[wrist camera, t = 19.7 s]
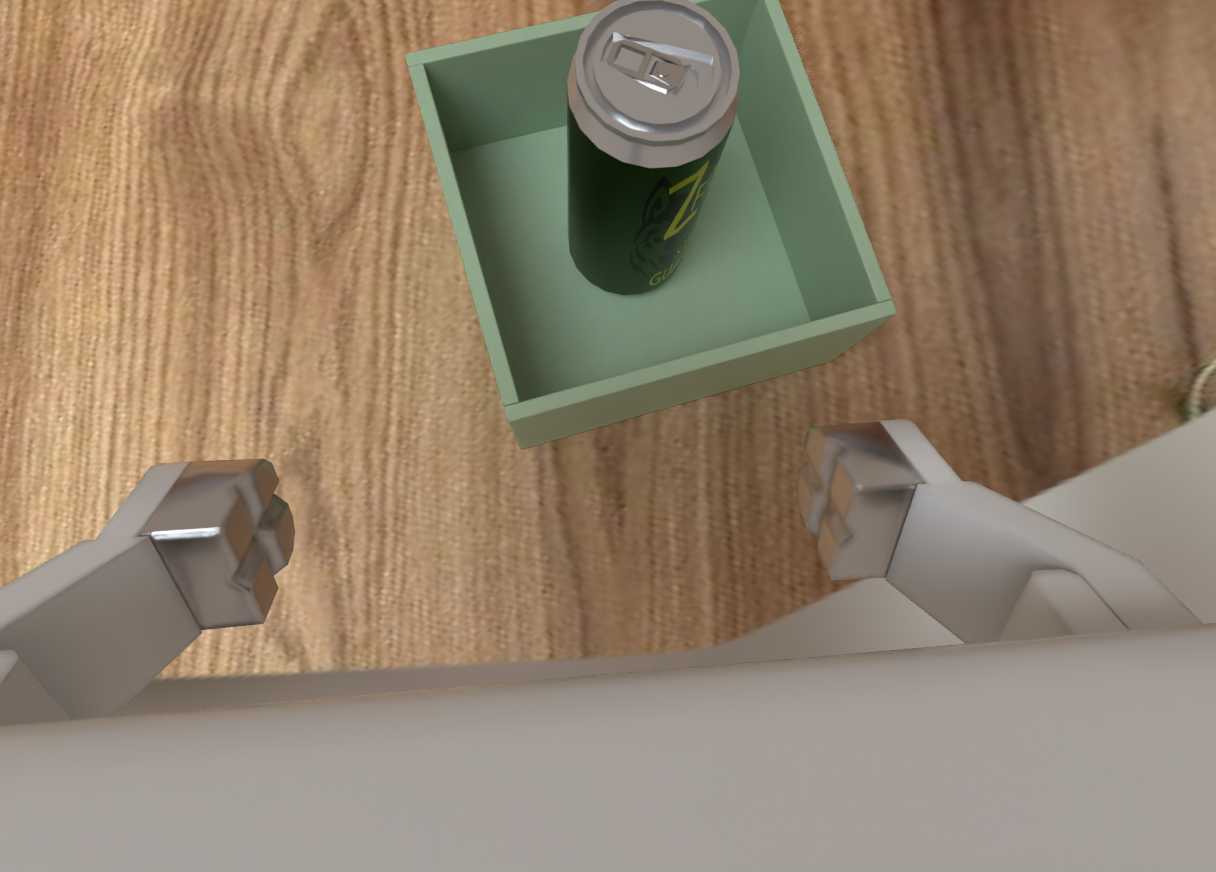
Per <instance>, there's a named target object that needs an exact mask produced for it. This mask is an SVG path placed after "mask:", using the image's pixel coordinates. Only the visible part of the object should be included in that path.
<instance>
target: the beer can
mask: <svg viewBox="0 0 1216 872" xmlns="http://www.w3.org/2000/svg"><path fill="white" fill-rule="evenodd" d="M739 76H740V69H739V63H738V56H737V50H736V48H735V46H734V44H733V42H732V40H731V38H730V36H729V34H728V33H727V31H726V29H725V28H724V27H723V26H722V25H721V24H720V23H719V22H718V21H717V20H716V19H715V18H714V17H713V16H712V15H711V14H710V13H709V12H708V11H707V10H705V9H703V8H701V7H699V6H698V5H696V4H694V3H692V2H690V1H688V0H618V1H616V2H613V3H611V4H610V5H609V6H607V7H606V8H605V9H603V10H602V11H601V12H599V13H598V14H596V15H595V16H594V17H593V18H592V20H591V21H590V23H589V24H588V25H587V27H586V28H585V30H584V31H583V33H582V34H581V36H580V39H579V43H578V47H577V51H576V54H575V55H574V57H573V59H572V63H571V67H570V71H569V75H568V79H567V167H568V241H569V251H570V254H571V257H572V259H573V261H574V263H575V265H576V268H577V269H578V270H579V271H580V272H581V273H582V275H583V276H584V277H585V278H586V279H587V280H588V281H589V282H590V283H592V284H594V285H596V286H597V287H599V288H601V289H602V290H604V291H607V292H611V293H616V294H620V295H633V294H643V293H645V292H648V291H650V290H653V289H655V288H658V287H659V286H660V285H662V284H663V283H664V282H665V281H666V280H668V279H669V278H670V277H671V276H672V275H673V273H674V272H675V270H676V268H677V267H678V265H679V263H680V262H681V260H682V257H683V254H684V252H685V249H686V246H687V244H688V241H689V239H690V236H691V233H692V231H693V228H694V225H695V223H696V220H697V218H698V215H699V212H700V210H701V207H702V204H703V202H704V199H705V196H706V194H707V191H708V189H709V186H710V183H711V181H712V178H713V175H714V173H715V170H716V168H717V165H718V162H719V160H720V157H721V154H722V152H723V149H724V147H725V144H726V141H727V139H728V136H729V133H730V131H731V128H732V126H733V123H734V120H735V115H736V110H737V106H738V101H739V91H738V81H739Z"/></svg>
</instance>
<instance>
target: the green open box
mask: <svg viewBox="0 0 1216 872" xmlns="http://www.w3.org/2000/svg"><path fill="white" fill-rule="evenodd" d="M688 1H690V2H692V3H694V4H696V5H698V6H699V7H701V8H703V9H705V10H707V11H708V12H709V13H710V14H711V15H712V16H713V17H714V18H715V19H716V20H717V21H718V22H719V23H720V24H721V25H722V26H723V27H724V28H725V29H726V31H727V33H728V34H729V36H730V38H731V40H732V42H733V44H734V46H735V48H736V50H737V56H738V63H739V69H740V76H739V81H738V91H739V101H738V106H737V110H736V115H735V120H734V123H733V126H732V128H731V131H730V133H729V136H728V139H727V141H726V144H725V147H724V149H723V152H722V154H721V157H720V160H719V162H718V165H717V168H716V170H715V173H714V175H713V178H712V181H711V183H710V186H709V189H708V191H707V194H706V196H705V199H704V202H703V204H702V207H701V210H700V212H699V215H698V218H697V220H696V223H695V225H694V228H693V231H692V233H691V236H690V239H689V241H688V244H687V246H686V249H685V252H684V254H683V257H682V260H681V262H680V263H679V265H678V267H677V268H676V270H675V272H674V273H673V275H672V276H671V277H670V278H669V279H668V280H666V281H665V282H664V283H663V284H662V285H660V286H659V287H658V288H655V289H653V290H650V291H648V292H645V293H643V294H633V295H620V294H616V293H611V292H607V291H604V290H602V289H601V288H599V287H597V286H596V285H594V284H592V283H590V282H589V281H588V280H587V279H586V278H585V277H584V276H583V275H582V273H581V272H580V271H579V270H578V269H577V268H576V265H575V263H574V261H573V259H572V257H571V254H570V251H569V241H568V167H567V79H568V75H569V71H570V67H571V63H572V59H573V57H574V55H575V54H576V51H577V47H578V43H579V39H580V36H581V34H582V33H583V31H584V30H585V28H586V27H587V25H588V24H589V23H590V21H591V20H592V18H593V17H594V16H595V15H596V14H598V13H599V12H601V11H597V12H593V13H588V14H584V15H579V16H575V17H570V18H566V19H561V20H556V21H552V22H547V23H543V24H538V25H534V26H529V27H525V28H520V29H515V30H511V31H506V32H502V33H497V34H493V35H488V36H484V37H479V38H474V39H470V40H465V41H461V42H456V43H452V44H447V45H443V46H438V47H433V48H429V49H424V50H420V51H415V52H411V53H406V54H405V57H406V61H407V64H408V67H409V71H410V75H411V79H412V82H413V86H414V89H415V93H416V96H417V100H418V104H419V107H420V111H421V114H422V118H423V121H424V125H425V129H426V132H427V136H428V139H429V143H430V146H431V150H432V154H433V157H434V161H435V164H436V168H437V171H438V175H439V179H440V182H441V186H442V189H443V193H444V196H445V200H446V204H447V207H448V211H449V214H450V218H451V221H452V225H453V229H454V232H455V236H456V239H457V243H458V246H459V250H460V254H461V257H462V261H463V264H464V268H465V271H466V275H467V279H468V282H469V286H470V289H471V293H472V296H473V300H474V304H475V307H476V311H477V314H478V318H479V322H480V325H481V329H482V332H483V336H484V339H485V343H486V347H487V350H488V354H489V357H490V361H491V364H492V368H493V372H494V375H495V379H496V382H497V386H498V389H499V393H500V397H501V400H502V404H503V406H504V411H505V414H506V418H507V421H508V423H509V425H510V427H511V429H512V431H513V434H514V436H515V438H516V440H517V442H518V444H519V446H520V448H521V449H525V448H528V447H532V446H535V445H539V444H542V443H546V442H549V441H553V440H556V439H560V438H563V437H567V436H570V435H574V434H578V433H581V432H585V431H588V430H592V429H595V428H599V427H602V426H606V425H609V424H613V423H616V422H620V421H623V420H627V419H630V418H634V417H637V416H641V415H644V414H648V413H651V412H655V411H658V410H662V409H666V408H669V407H673V406H676V405H680V404H683V403H687V402H690V401H694V400H697V399H701V398H704V397H708V396H711V395H715V394H718V393H722V392H725V391H729V390H732V389H736V388H739V387H743V386H746V385H750V384H754V383H757V382H761V381H764V380H768V379H771V378H775V377H778V376H782V375H785V374H789V373H792V372H796V371H799V370H803V369H806V368H810V367H813V366H817V365H820V364H824V363H827V362H831V361H832V360H834V359H835V358H836V357H838V356H839V355H840V354H842V353H843V352H845V351H846V350H847V349H849V348H850V347H851V346H853V345H854V344H855V343H857V342H858V341H860V340H861V339H862V338H864V337H865V336H866V335H868V334H869V333H871V332H872V331H873V330H875V329H876V328H877V327H879V326H880V325H882V324H883V323H884V322H886V321H887V320H888V319H890V318H891V317H892V316H894V315H895V314H896V313H897V311H896V308H895V306H894V303H893V301H892V300H890V299H891V295H890V292H889V290H888V287H887V285H886V282H885V279H884V277H883V274H882V271H881V269H880V266H879V263H878V261H877V258H876V256H875V253H874V250H873V248H872V245H871V242H870V240H869V237H868V234H867V232H866V229H865V227H864V224H863V221H862V219H861V216H860V213H859V211H858V208H857V205H856V203H855V200H854V198H853V195H852V192H851V190H850V187H849V184H848V182H847V179H846V176H845V174H844V171H843V169H842V166H841V163H840V161H839V158H838V155H837V153H836V150H835V147H834V145H833V142H832V140H831V137H830V134H829V132H828V129H827V126H826V124H825V121H824V118H823V116H822V113H821V111H820V108H819V105H818V103H817V100H816V97H815V95H814V92H813V89H812V87H811V84H810V82H809V79H808V76H807V74H806V71H805V68H804V66H803V63H802V60H801V58H800V55H799V53H798V50H797V47H796V45H795V42H794V39H793V37H792V34H791V31H790V29H789V26H788V24H787V21H786V18H785V16H784V13H783V10H782V8H781V5H780V2H779V0H688Z"/></svg>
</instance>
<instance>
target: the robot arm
mask: <svg viewBox="0 0 1216 872" xmlns="http://www.w3.org/2000/svg"><path fill="white" fill-rule="evenodd" d="M804 450H805V452H806V454H807V456H808V457H809V459H810V460H809V461H808V462H807V463H806V464H805V465H804V466H803V467H802V468H801V469H800V470H799V474H798V480H797V486H796V492H797V505H798V509H799V513H800V517H801V519H802V521H803V523H804V525H805V528H806V529H808V530H810V531H811V532H813V533H814V534H816V535H817V536H818V539H817V544H816V548H815V549H816V551H817V553H818V555H819V557H820V559H821V561H822V563H823V565H824V567H825V569H826V571H827V573H828V575H829V577H830V579H831V580H846V579H866V578H886V581H887V582H889V583H890V584H891V585H892V586H894V587H895V588H896V589H897V590H899V591H900V592H901V593H902V594H904V595H905V596H906V597H907V598H909V599H910V600H911V601H913V602H914V603H915V604H916V605H918V606H919V607H920V608H921V609H923V610H924V611H925V612H927V613H928V614H929V615H930V616H932V617H933V618H934V619H935V620H936V621H938V622H939V623H940V624H942V625H943V626H944V627H945V628H947V629H948V630H949V631H950V632H952V633H953V634H954V635H956V636H957V637H958V638H959V639H961V640H962V641H963V642H964V643H965V644H960V645H948V646H936V647H925V648H914V649H904V650H903V649H902V650H891V651H880V652H868V653H857V654H844V655H833V656H821V657H809V658H797V659H785V660H773V661H761V662H748V663H737V664H725V665H712V666H700V667H688V668H677V669H664V670H651V671H639V672H628V673H616V674H604V675H592V676H581V677H569V678H558V679H545V680H534V681H522V682H510V683H498V684H487V685H475V686H463V687H452V688H439V689H428V690H416V691H404V692H392V693H381V694H369V695H357V696H345V697H333V698H321V699H310V700H298V701H287V702H275V703H263V704H251V705H239V706H227V707H217V708H216V707H215V708H203V709H191V710H181V711H168V712H156V713H145V714H132V715H122V716H121V715H120V716H114V715H115V714H116V713H117V712H118V711H120V710H121V709H122V708H123V707H124V706H125V705H126V704H127V703H128V702H129V701H130V700H131V699H132V698H133V697H135V696H136V695H137V694H138V693H139V692H140V691H141V690H142V689H143V688H144V687H145V686H146V685H147V684H148V683H149V682H150V681H152V680H153V679H154V678H155V677H156V676H157V675H158V674H159V673H160V672H161V671H162V670H163V669H164V668H165V667H166V666H167V665H169V664H170V663H171V662H172V661H173V660H174V659H175V658H176V657H177V656H178V655H179V654H180V653H181V652H182V651H183V650H184V649H186V648H187V647H188V646H189V645H190V644H191V643H192V642H193V641H194V640H195V639H196V638H197V637H198V636H199V635H200V634H201V633H202V631H201V630H206V629H216V628H226V627H236V626H245V625H255V624H264V622H265V619H266V617H267V614H268V612H269V609H270V607H271V604H272V602H273V600H274V597H275V595H276V592H277V590H278V586H277V583H276V581H275V578H274V575H275V574H277V573H278V572H279V571H280V570H282V569H283V568H284V567H285V566H287V565H288V562H289V560H290V557H291V554H292V552H293V546H294V536H295V529H294V522H293V516H292V513H291V511H290V508H289V505H288V503H286V502H285V501H283V500H282V499H281V498H279V497H278V496H277V495H275V494H274V491H275V489H276V487H277V485H278V483H279V479H278V476H277V474H276V472H275V469H274V467H273V465H272V463H271V462H269V461H267V460H265V459H243V460H218V461H196V462H176V463H160V464H158V465H155V466H152V467H150V468H149V470H148V471H147V472H146V474H145V475H144V476H143V478H142V479H141V480H140V481H139V483H138V484H137V485H136V487H135V488H134V489H133V491H132V492H131V493H130V495H129V496H128V497H127V499H126V500H125V501H124V503H123V504H122V505H121V507H120V508H119V509H118V510H117V512H116V513H115V514H114V516H113V517H112V518H111V520H110V521H109V522H108V524H107V525H106V526H105V528H104V529H103V530H102V532H101V533H100V534H99V536H98V537H97V538H96V539H95V540H84V541H82V542H80V543H78V544H76V545H75V546H73V547H71V548H70V549H68V550H66V551H64V552H63V553H61V554H59V555H57V556H56V557H54V558H52V559H50V560H49V561H47V562H45V563H43V564H42V565H40V566H38V567H36V568H35V569H33V570H31V571H29V572H28V573H26V574H24V575H22V576H21V577H19V578H17V579H16V580H14V581H12V582H10V583H9V584H7V585H5V586H3V587H2V588H0V872H1216V623H1209V624H1203V623H1202V622H1201V621H1200V620H1199V619H1198V618H1197V617H1196V616H1195V615H1194V614H1193V613H1192V612H1191V611H1190V610H1189V609H1188V608H1187V607H1186V606H1185V605H1184V604H1183V603H1182V602H1181V601H1180V600H1179V599H1178V598H1177V597H1176V596H1175V595H1174V594H1173V593H1172V592H1171V591H1170V590H1169V589H1168V588H1167V587H1166V586H1165V585H1164V584H1163V583H1162V582H1161V581H1160V580H1159V579H1158V578H1157V577H1156V576H1155V575H1154V574H1153V573H1152V572H1151V571H1150V570H1149V569H1148V568H1147V567H1146V566H1145V565H1144V564H1143V563H1142V562H1141V561H1139V560H1137V559H1135V558H1133V557H1131V556H1129V555H1127V554H1125V553H1122V552H1120V551H1118V550H1116V549H1114V548H1112V547H1110V546H1108V545H1106V544H1104V543H1101V542H1099V541H1097V540H1095V539H1093V538H1091V537H1089V536H1087V535H1085V534H1083V533H1080V532H1078V531H1076V530H1074V529H1072V528H1070V527H1068V526H1066V525H1064V524H1062V523H1060V522H1057V521H1055V520H1053V519H1051V518H1049V517H1047V516H1045V515H1043V514H1041V513H1038V512H1036V511H1034V510H1032V509H1030V508H1028V507H1026V506H1024V505H1022V504H1020V503H1018V502H1016V501H1013V500H1011V499H1009V498H1007V497H1005V496H1003V495H1001V494H999V493H997V492H995V491H992V490H990V489H988V488H986V487H984V486H982V485H980V484H978V483H976V482H974V481H962V480H961V479H960V478H959V477H958V476H957V474H956V473H955V472H954V471H953V470H952V468H951V467H950V466H949V465H948V463H947V462H946V461H945V460H944V459H943V457H942V456H941V455H940V454H939V453H938V451H937V450H936V449H935V448H934V447H933V445H932V444H931V443H930V442H929V441H928V439H927V438H926V437H925V436H924V434H923V433H922V432H921V431H920V430H919V428H918V427H917V426H916V425H915V424H914V422H912V421H910V420H908V419H906V418H902V419H891V420H880V421H874V422H866V423H852V424H838V425H824V426H811V427H810V429H809V431H808V433H807V434H806V439H805V443H804Z"/></svg>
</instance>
